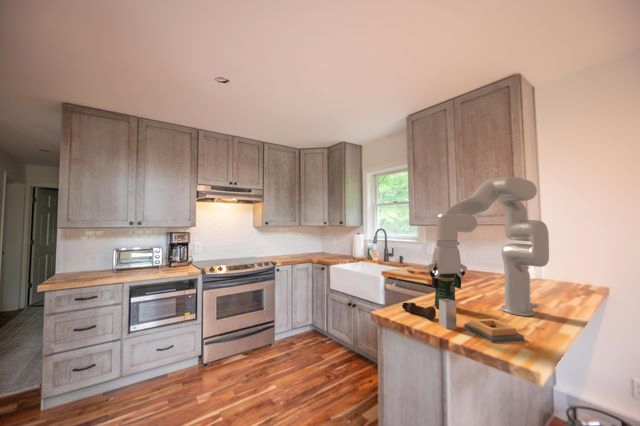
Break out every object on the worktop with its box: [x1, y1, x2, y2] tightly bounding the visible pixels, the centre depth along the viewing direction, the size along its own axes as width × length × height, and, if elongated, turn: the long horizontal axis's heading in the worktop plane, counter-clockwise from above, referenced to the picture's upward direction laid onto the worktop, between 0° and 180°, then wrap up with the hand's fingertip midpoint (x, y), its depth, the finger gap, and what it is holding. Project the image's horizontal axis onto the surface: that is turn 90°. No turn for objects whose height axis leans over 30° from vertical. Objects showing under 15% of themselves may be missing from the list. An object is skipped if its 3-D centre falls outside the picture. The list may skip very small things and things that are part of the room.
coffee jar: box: [434, 274, 456, 309], centre depth 128 cm, size 10×8×19 cm
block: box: [438, 299, 457, 330], centre depth 105 cm, size 4×4×10 cm
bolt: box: [401, 302, 437, 321], centre depth 119 cm, size 6×5×15 cm
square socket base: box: [464, 318, 525, 343], centre depth 98 cm, size 13×13×4 cm
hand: (446, 288), depth 105 cm, fingers open, 9 cm apart
